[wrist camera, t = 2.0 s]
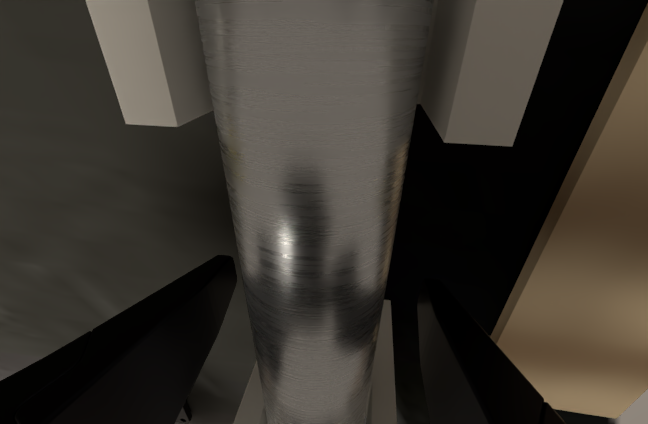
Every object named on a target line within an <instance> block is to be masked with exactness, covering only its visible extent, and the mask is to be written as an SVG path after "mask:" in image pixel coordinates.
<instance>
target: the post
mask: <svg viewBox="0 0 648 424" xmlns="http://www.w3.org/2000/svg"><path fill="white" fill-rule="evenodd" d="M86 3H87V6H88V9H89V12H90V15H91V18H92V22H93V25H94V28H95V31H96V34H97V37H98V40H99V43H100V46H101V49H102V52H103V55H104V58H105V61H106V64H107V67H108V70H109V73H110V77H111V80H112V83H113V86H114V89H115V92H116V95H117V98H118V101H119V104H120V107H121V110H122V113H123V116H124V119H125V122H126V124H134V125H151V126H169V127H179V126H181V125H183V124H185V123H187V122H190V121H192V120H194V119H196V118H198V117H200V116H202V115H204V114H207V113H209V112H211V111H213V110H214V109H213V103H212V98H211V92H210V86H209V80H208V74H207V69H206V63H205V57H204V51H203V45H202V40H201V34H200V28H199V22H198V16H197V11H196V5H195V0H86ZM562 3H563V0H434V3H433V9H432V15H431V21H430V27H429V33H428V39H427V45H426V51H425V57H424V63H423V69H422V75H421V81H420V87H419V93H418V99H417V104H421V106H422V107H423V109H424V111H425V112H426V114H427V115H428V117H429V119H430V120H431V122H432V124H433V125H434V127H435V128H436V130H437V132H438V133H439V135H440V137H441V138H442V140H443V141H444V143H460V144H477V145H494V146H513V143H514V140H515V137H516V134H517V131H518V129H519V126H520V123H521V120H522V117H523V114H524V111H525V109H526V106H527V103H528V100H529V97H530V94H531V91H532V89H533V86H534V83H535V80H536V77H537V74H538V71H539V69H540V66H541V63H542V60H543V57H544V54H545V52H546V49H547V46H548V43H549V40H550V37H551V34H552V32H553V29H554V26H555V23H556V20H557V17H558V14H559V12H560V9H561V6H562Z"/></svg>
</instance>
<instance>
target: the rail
mask: <svg viewBox="0 0 648 424" xmlns="http://www.w3.org/2000/svg"><path fill="white" fill-rule="evenodd" d="M433 3H434V0H195V5H196V11H197V16H198V22H199V28H200V34H201V40H202V45H203V51H204V57H205V63H206V69H207V74H208V80H209V86H210V92H211V98H212V103H213V109H214V115H215V121H216V127H217V132H218V138H219V144H220V150H221V156H222V161H223V167H224V173H225V179H226V185H227V190H228V196H229V202H230V208H231V214H232V219H233V225H234V231H235V237H236V243H237V248H238V254H239V260H240V266H241V272H242V277H243V283H244V289H245V295H246V301H247V306H248V312H249V318H250V324H251V330H252V335H253V341H254V347H255V353H256V359H257V364H258V370H259V376H260V382H261V388H262V393H263V399H264V405H265V411H266V417H267V422H268V424H363V423H364V417H365V411H366V405H367V399H368V393H369V387H370V381H371V375H372V369H373V363H374V357H375V351H376V345H377V339H378V333H379V327H380V321H381V315H382V309H383V303H384V297H385V291H386V285H387V279H388V273H389V267H390V261H391V255H392V249H393V243H394V237H395V231H396V225H397V219H398V213H399V207H400V201H401V195H402V189H403V183H404V177H405V171H406V165H407V159H408V153H409V147H410V141H411V135H412V129H413V123H414V117H415V111H416V105H417V99H418V93H419V87H420V81H421V75H422V69H423V63H424V57H425V51H426V45H427V39H428V33H429V27H430V21H431V15H432V9H433Z"/></svg>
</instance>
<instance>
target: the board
mask: <svg viewBox="0 0 648 424" xmlns="http://www.w3.org/2000/svg"><path fill="white" fill-rule="evenodd" d="M490 338H491V339H492V340H493V341H494V342H495V343H496V344H497V345H498V347H499V348H500V349H501V350H502V351H503V352H504V353H505V355H506V356H507V357H508V358H509V359H510V360H511V361H512V363H513V364H514V365H515V366H516V367H517V368H518V369H519V371H520V372H521V373H522V374H523V375H524V376H525V377H526V379H527V380H528V381H529V382H530V383H531V384H532V385H533V387H534V388H535V389H536V390H537V391H538V392H539V393H540V394H541V396H542V397H543V398H544V402H547V403H549V405H550V406H551V407H552V408H553V409H558V410H564V411H571V412H577V413H583V414H590V415H596V416H603V417H609V418H615V419H617V418H618V417H619V416H620V415H621V414H622V413H623V412H624V411H625V410H626V409H627V408H628V407H629V406H630V405H631V404H632V403H633V402H634V401H635V400H636V399H638V398H639V397H640V396H641V395H642V394H643V393H644V392H645V391H646V390H647V389H648V3H647V6H646V8H645V10H644V12H643V14H642V16H641V18H640V20H639V23H638V25H637V27H636V29H635V31H634V33H633V35H632V37H631V40H630V42H629V44H628V46H627V48H626V50H625V52H624V54H623V56H622V59H621V61H620V63H619V65H618V67H617V69H616V71H615V73H614V76H613V78H612V80H611V82H610V84H609V86H608V88H607V90H606V93H605V95H604V97H603V99H602V101H601V103H600V105H599V107H598V110H597V112H596V114H595V116H594V118H593V120H592V122H591V124H590V126H589V129H588V131H587V133H586V135H585V137H584V139H583V141H582V143H581V146H580V148H579V150H578V152H577V154H576V156H575V158H574V160H573V163H572V165H571V167H570V169H569V171H568V173H567V175H566V177H565V179H564V182H563V184H562V186H561V188H560V190H559V192H558V194H557V196H556V199H555V201H554V203H553V205H552V207H551V209H550V211H549V213H548V216H547V218H546V220H545V222H544V224H543V226H542V228H541V230H540V233H539V235H538V237H537V239H536V241H535V243H534V245H533V247H532V249H531V252H530V254H529V256H528V258H527V260H526V262H525V264H524V266H523V269H522V271H521V273H520V275H519V277H518V279H517V281H516V283H515V286H514V288H513V290H512V292H511V294H510V296H509V298H508V300H507V302H506V305H505V307H504V309H503V311H502V313H501V315H500V317H499V319H498V322H497V324H496V326H495V328H494V330H493V332H492V334H491V336H490Z"/></svg>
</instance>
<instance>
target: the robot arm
mask: <svg viewBox="0 0 648 424" xmlns="http://www.w3.org/2000/svg"><path fill="white" fill-rule="evenodd" d="M236 283H237V275H236V270H235V264H234V260H233V258H232V257H231V256H225V255H217V256H215V257H214V258H212V259H210V260H209V261H207V262H205V263H204V264H202V265H200V266H199V267H197V268H195V269H194V270H192V271H190V272H188V273H187V274H185V275H183V276H182V277H180V278H178V279H177V280H175V281H173V282H172V283H170V284H168V285H167V286H165V287H163V288H162V289H160V290H158V291H156V292H155V293H153V294H151V295H150V296H148V297H146V298H145V299H143V300H141V301H140V302H138V303H136V304H135V305H133V306H131V307H130V308H128V309H126V310H125V311H123V312H121V313H119V314H118V315H116V316H114V317H113V318H111V319H109V320H108V321H106V322H104V323H103V324H101V325H99V326H98V327H96V328H94V329H93V330H92V332H91V331H89V332H87V333H86V334H84V335H82V336H81V337H79V338H77V339H76V340H74V341H72V342H70V343H69V344H67V345H65V346H63V347H62V348H60V349H58V350H56V351H55V352H53V353H51V354H50V355H48V356H46V357H44V358H42V359H41V360H39V361H37V362H35V363H33V364H31V365H29V366H28V367H26V368H24V369H22V370H20V371H18V372H16V373H15V374H13V375H11V376H9V377H7V378H5V379H3V380H1V381H0V424H175V422H180V423H185V424H188V423H189V422H190V420H191V418H192V415H191V412H190V410H189V408H188V405H187V403H186V399H187V397H188V395H189V393H190V391H191V389H192V387H193V385H194V383H195V381H196V379H197V377H198V375H199V373H200V371H201V368H202V366H203V364H204V362H205V360H206V358H207V356H208V354H209V352H210V350H211V348H212V346H213V344H214V342H215V340H216V337H217V335H218V333H219V330H220V328H221V325H222V323H223V320H224V317H225V314H226V311H227V309H228V306H229V303H230V300H231V297H232V295H233V292H234V289H235V286H236ZM417 310H418V329H419V349H420V363H421V370H422V376H423V382H424V388H425V394H426V400H427V406H428V412H429V418H430V423H431V424H566V423H565V422H564V420H563V419H562V418H561V417H560V416H559V415H558V414H557V412H556V411H555V410H554V409H553V408H552V407H551V406H550V405H549V403H547V402H544V398H543V397H542V396H541V394H540V393H539V392H538V391H537V390H536V389H535V388H534V387H533V385H532V384H531V383H530V382H529V381H528V380H527V379H526V377H525V376H524V375H523V374H522V373H521V372H520V371H519V369H518V368H517V367H516V366H515V365H514V364H513V363H512V361H511V360H510V359H509V358H508V357H507V356H506V355H505V353H504V352H503V351H502V350H501V349H500V348H499V347H498V345H497V344H496V343H495V342H494V341H493V340H492V339H491V338H490V336H489V335H488V334H487V333H486V332H485V331H484V330H483V328H482V327H481V326H480V325H479V324H478V323H477V322H476V320H475V319H474V318H473V317H472V316H471V315H470V314H469V312H468V311H467V310H466V309H465V308H464V307H463V306H462V304H461V303H460V302H459V301H458V300H457V299H456V298H455V297H454V295H453V294H452V293H451V292H450V291H449V290H448V289H447V287H446V286H445V285H444V284H443V283H442V282H441V281H440V280H437V279H428V278H426V279H424V280H423V282H422V286H421V290H420V294H419V298H418V304H417Z"/></svg>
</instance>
